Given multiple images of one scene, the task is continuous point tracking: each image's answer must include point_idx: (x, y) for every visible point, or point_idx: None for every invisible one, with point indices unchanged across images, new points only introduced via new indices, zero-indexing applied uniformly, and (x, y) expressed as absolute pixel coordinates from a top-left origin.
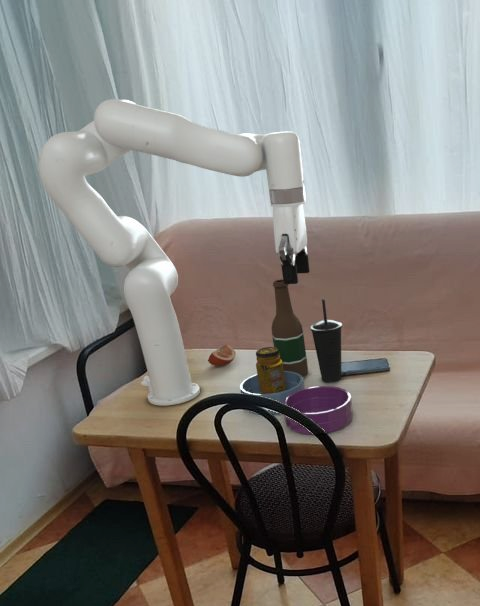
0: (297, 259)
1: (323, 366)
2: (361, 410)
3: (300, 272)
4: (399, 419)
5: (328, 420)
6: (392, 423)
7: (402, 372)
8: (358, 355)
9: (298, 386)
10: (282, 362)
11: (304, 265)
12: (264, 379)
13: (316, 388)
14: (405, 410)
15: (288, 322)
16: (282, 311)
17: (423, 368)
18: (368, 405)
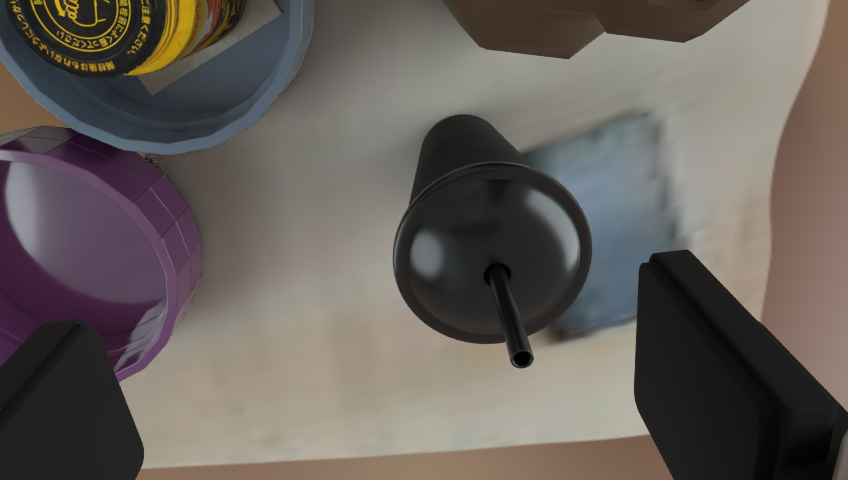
0: (722, 423)
1: (417, 166)
2: (204, 345)
3: (639, 316)
4: (177, 456)
5: None
6: (146, 446)
7: (543, 385)
8: (741, 181)
9: (143, 151)
10: (162, 68)
11: (671, 436)
12: None
13: (149, 235)
14: (241, 457)
15: (482, 4)
16: None
17: (581, 436)
18: (247, 355)
